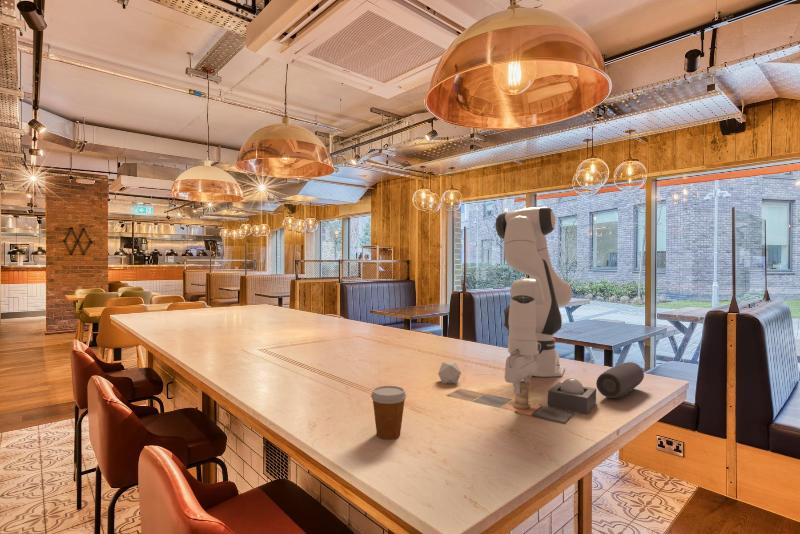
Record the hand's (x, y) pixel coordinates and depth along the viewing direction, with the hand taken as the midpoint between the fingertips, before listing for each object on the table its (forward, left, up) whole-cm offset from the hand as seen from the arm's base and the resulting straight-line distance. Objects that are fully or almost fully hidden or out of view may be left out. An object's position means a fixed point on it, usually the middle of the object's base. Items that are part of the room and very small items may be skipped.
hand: (521, 390), depth 139 cm
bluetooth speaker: (-35, +23, -6) cm, 42 cm away
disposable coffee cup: (+42, -21, -6) cm, 47 cm away
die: (-10, -32, -6) cm, 34 cm away
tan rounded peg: (0, 0, -5) cm, 5 cm away
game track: (0, -5, -6) cm, 8 cm away
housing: (-13, +12, -6) cm, 19 cm away
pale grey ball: (-13, +12, -4) cm, 18 cm away
